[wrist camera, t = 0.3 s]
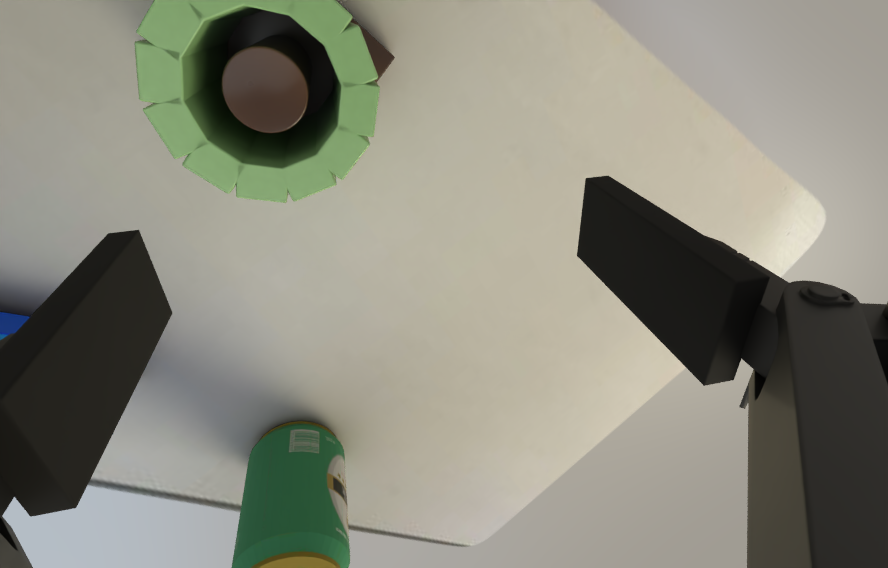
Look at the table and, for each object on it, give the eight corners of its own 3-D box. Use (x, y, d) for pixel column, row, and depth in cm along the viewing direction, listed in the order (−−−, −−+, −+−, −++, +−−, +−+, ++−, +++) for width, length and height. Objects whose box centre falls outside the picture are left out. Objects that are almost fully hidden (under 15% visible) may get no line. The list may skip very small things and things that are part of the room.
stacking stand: (256, -70, 25) (217, -118, 16) (391, 55, 29) (425, 76, 20) (167, 74, 27) (87, 108, 18) (306, 171, 31) (300, 239, 22)
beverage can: (350, 470, 46) (358, 603, 35) (262, 489, 44) (245, 633, 34) (335, 409, 42) (340, 538, 31) (239, 428, 40) (211, 569, 30)
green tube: (253, -67, 24) (216, -110, 15) (390, 58, 28) (421, 78, 19) (165, 77, 26) (90, 109, 17) (304, 173, 30) (298, 238, 21)
